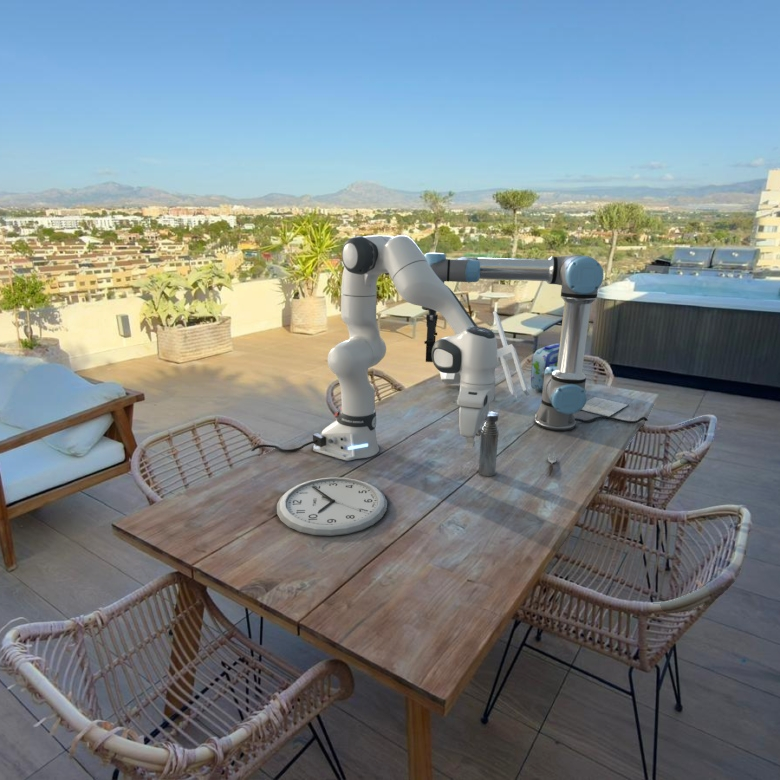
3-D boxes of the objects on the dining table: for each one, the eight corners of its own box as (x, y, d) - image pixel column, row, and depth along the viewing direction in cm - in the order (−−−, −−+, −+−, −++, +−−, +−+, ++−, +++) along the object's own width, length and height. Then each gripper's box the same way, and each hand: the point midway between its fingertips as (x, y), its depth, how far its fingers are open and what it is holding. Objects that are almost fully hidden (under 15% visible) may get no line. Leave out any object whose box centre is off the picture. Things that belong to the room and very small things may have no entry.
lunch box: (547, 395, 239) (552, 351, 233) (526, 390, 247) (530, 347, 240) (574, 384, 257) (579, 343, 251) (554, 380, 264) (558, 339, 258)
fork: (545, 476, 161) (545, 470, 161) (548, 456, 176) (549, 450, 175) (553, 477, 160) (554, 471, 160) (556, 457, 175) (557, 452, 174)
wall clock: (392, 527, 129) (268, 531, 127) (391, 533, 130) (269, 537, 127) (383, 473, 158) (282, 475, 155) (383, 478, 158) (282, 480, 156)
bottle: (492, 477, 160) (497, 419, 155) (476, 474, 162) (480, 416, 157) (497, 471, 165) (501, 413, 159) (481, 467, 167) (485, 411, 161)
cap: (495, 422, 156) (496, 417, 155) (482, 420, 157) (482, 414, 157) (499, 418, 159) (499, 412, 159) (486, 416, 161) (486, 410, 160)
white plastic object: (461, 429, 252) (437, 405, 227) (444, 352, 274) (420, 323, 250) (535, 404, 240) (518, 377, 215) (510, 326, 262) (492, 293, 237)
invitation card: (608, 416, 214) (573, 407, 224) (608, 416, 214) (573, 408, 224) (628, 404, 229) (594, 396, 238) (628, 405, 229) (594, 397, 238)
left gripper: (473, 379, 144) (470, 426, 148) (455, 401, 126) (453, 454, 130) (496, 382, 142) (493, 429, 146) (481, 404, 124) (478, 457, 128)
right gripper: (424, 293, 195) (422, 349, 202) (419, 302, 172) (417, 365, 178) (444, 294, 195) (441, 350, 201) (442, 303, 171) (439, 366, 177)
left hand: (474, 441), depth 138 cm, fingers open, 8 cm apart
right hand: (430, 357), depth 190 cm, fingers open, 13 cm apart
